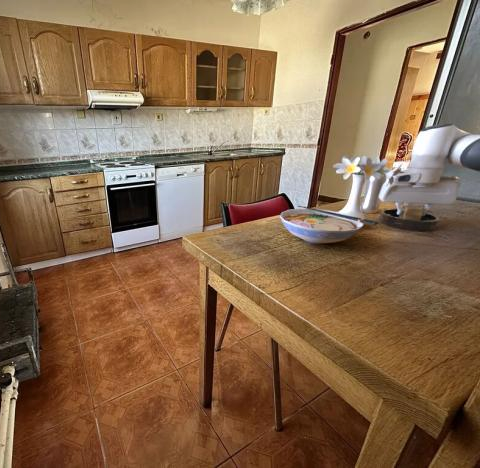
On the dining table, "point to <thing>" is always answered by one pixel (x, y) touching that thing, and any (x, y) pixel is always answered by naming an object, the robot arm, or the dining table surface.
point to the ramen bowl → (321, 224)
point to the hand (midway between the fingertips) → (410, 215)
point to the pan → (408, 221)
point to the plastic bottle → (372, 194)
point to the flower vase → (362, 179)
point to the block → (412, 213)
